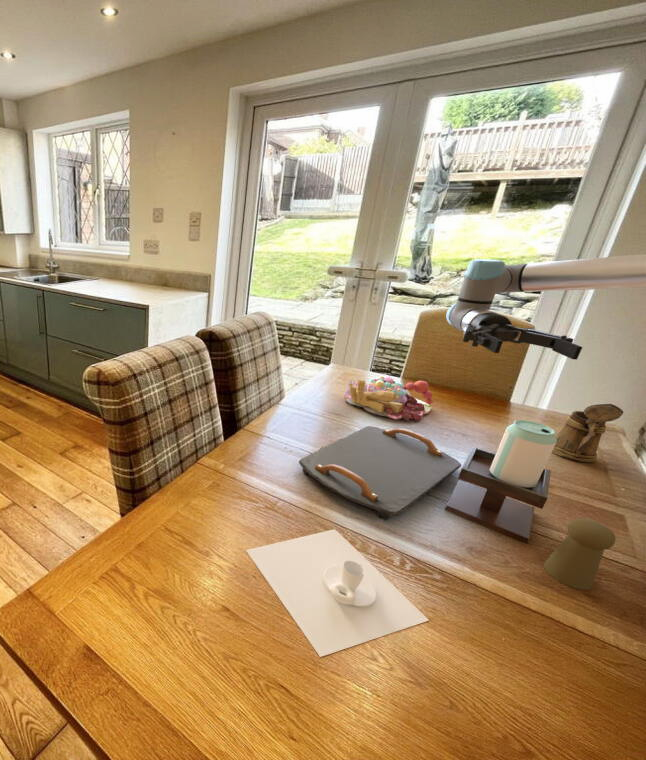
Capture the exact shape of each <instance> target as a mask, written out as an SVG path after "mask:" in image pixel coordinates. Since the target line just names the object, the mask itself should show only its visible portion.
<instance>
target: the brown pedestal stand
mask: <svg viewBox="0 0 646 760" xmlns="http://www.w3.org/2000/svg"><path fill="white" fill-rule="evenodd" d="M496 453H497V452H493V451H490V450H486V449H484V448H480V447H477V446H473V445H472V446H471V448H470V450H469V452H468V455H467V456H466V458H465V461H464V463H463V465H462V467H461V469H460V471H459V474H458V477H457V479H458V480H457V482H456V484H455V487H454V489H453V490H452V493H451V495H450V496H449V499H448V501H447V503H446V505H445V507H444V510H445V511H447V512H449V513H452V514H454V515H457V516H459V517H462V518H463V519H467V520H469V521H471V522H474V523H476V524H479V525H481V526H483V527H485V528H488V529H490V530H492V531H495V532H498V533H500V534H503V535H505V536H506V537H507V536H508V537H510V538H512V539H514V540H518V541H519V542H522V543H524V544H528V542H529V541H530V537H531V532H532V531H531V530H532V525H533V520H534V519H533V517H534V511H535V508H538V509H541V510H543V508H544V507H545V504H546V503H547V501H548V498H549V490H550V489H549V488H550V480H551V472H552V470H551V469H548V468H544V470H543V472H542V474H541V476H540V478H539V480H538V482H537V484H536V486H534V487H530V488H522V487H519V486H516V485H513V484H510V483H508V482H505V481H502V480H499V479H497V478H496V477H495V476H494V475H493V474H492V473H491V472H490V467H491V465H492V462H493V460H494V457H495V455H496Z"/></svg>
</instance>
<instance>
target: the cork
mask: <svg viewBox="0 0 646 760" xmlns="http://www.w3.org/2000/svg"><path fill="white" fill-rule="evenodd" d="M567 532H568V535H567V536H566V537H565V538H564V539H563V540H562V541H561V543H560V544H559V545H558V547H557V548H555V550H553V552H552V553H551V554H550V556H549V557H548V558H547V559H546V560H545V561H544V563H543V568H544V570H545V571H546V573H548V574H549V575H550V576H551V577H552V578H554V579H555V580H557V581H558V582H560V583H562V584H563V585H565V586H568V587H571V588H573V589H576V590H580V591H581V590H582V591H589V590H591V589H593V587H594V586H593V585H594V583H595V579H596V577H597V573H598V570H599V567H600V564H601V560H602V558H603V555H604V552H605V550H609V549H611V548H612V547H613V546H614V545H615V543H616V535H615V533H614V531H613V530H611V528H609V527H608V526H606V525H604V524H603V523H600V522H599V521H596V520H592V519H590V518H583V517H581V518H580V517H579V518H575V519H572V520H571V521H570V522H569V524H568V525H567Z"/></svg>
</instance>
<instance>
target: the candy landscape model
mask: <svg viewBox="0 0 646 760" xmlns="http://www.w3.org/2000/svg"><path fill="white" fill-rule="evenodd" d="M369 382H370V383H369V384H366V380H357V382H356V378H354V379H353V381H352V379H349V381H348V387H347V389H346V391H345V396H344V398H346V402H347V403H349V404H350V405H353V406H357V407H359V408H363V409H364V410H366V412H368V413H371V414H373V415H377V416H383V417H388V418H391V419H394V420H400V419H403V420H405V421H406V422H408V421H409V420H410V419H414V420H415V421H419V420H420V419H422V417H423V416H424V415H427V414H429V413H430V412H431V410H432V406H433V404H434V400H433V399H432V397H433V393H432V391H431V390H429V388H430V387H429V384H428V382H427V381H424V380H418V381H415V383H414V382H407V383H406V384H405V385H404V384H403V383H402V382H399V381H395V380H394V378H393V377H391V376H384V375H380V376H379V377H372V378H370V380H369ZM409 391H411V392H412V391H415V392H416V393H418V394H421V396H422V398H423V399H425V401H423V400H420V399H418V398H415V397H414V396H412V395H411V393H410V392H409Z"/></svg>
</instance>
